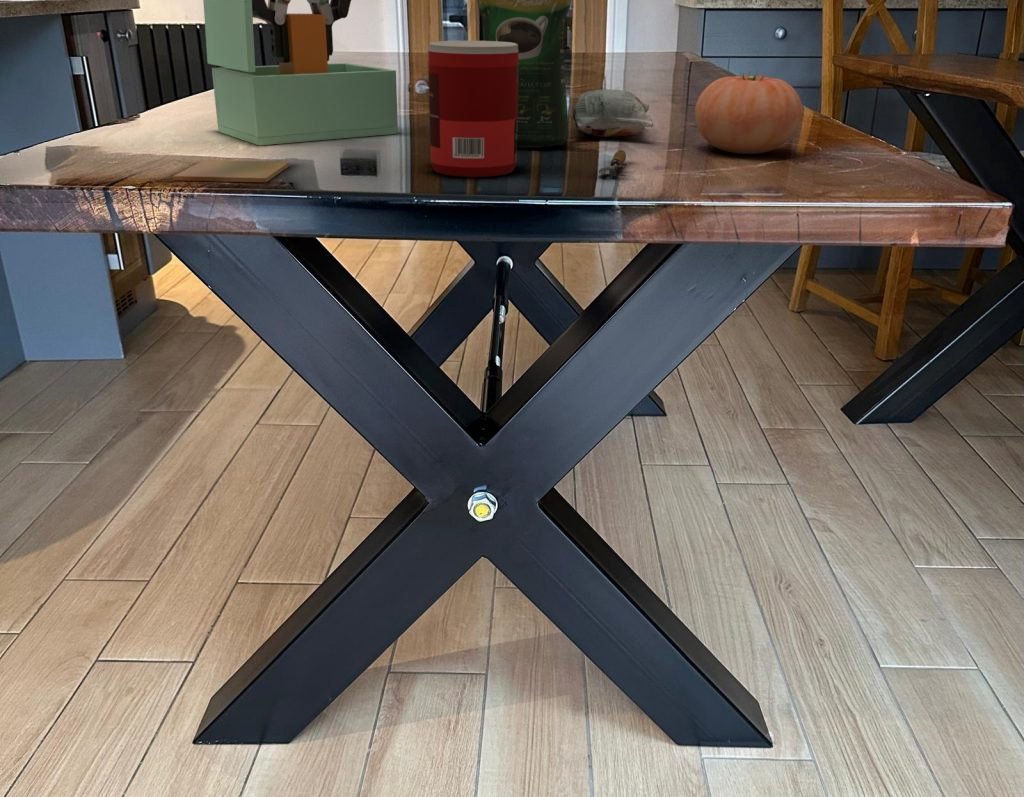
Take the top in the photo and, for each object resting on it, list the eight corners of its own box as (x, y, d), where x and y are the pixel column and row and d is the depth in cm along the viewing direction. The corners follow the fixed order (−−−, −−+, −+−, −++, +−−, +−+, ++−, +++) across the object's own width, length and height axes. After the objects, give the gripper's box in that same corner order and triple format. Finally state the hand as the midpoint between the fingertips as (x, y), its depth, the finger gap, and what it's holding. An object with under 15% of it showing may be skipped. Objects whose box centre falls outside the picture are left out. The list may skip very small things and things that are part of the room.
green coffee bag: (570, 140, 105) (577, -46, 98) (564, 151, 98) (571, -48, 91) (483, 137, 106) (483, -47, 99) (471, 148, 99) (471, -49, 92)
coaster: (173, 180, 81) (173, 175, 81) (204, 164, 89) (204, 159, 89) (266, 182, 81) (266, 177, 81) (289, 166, 89) (289, 161, 88)
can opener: (615, 160, 93) (615, 148, 92) (638, 162, 92) (639, 150, 92) (594, 177, 85) (595, 164, 84) (620, 179, 84) (620, 166, 84)
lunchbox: (350, 121, 116) (347, 62, 114) (398, 133, 108) (396, 70, 105) (218, 131, 107) (211, 67, 105) (258, 145, 99) (252, 76, 96)
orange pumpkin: (819, 156, 98) (831, 74, 95) (739, 163, 93) (748, 78, 90) (747, 141, 107) (756, 65, 103) (670, 147, 102) (676, 68, 98)
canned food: (533, 172, 87) (536, 44, 83) (461, 181, 83) (460, 46, 78) (484, 160, 93) (484, 39, 88) (414, 167, 88) (411, 41, 84)
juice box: (296, 113, 104) (290, 14, 100) (281, 109, 107) (274, 13, 103) (330, 111, 106) (325, 14, 102) (314, 107, 109) (309, 13, 105)
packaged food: (647, 128, 114) (650, 85, 112) (651, 144, 104) (654, 96, 102) (575, 127, 115) (576, 84, 113) (571, 142, 104) (572, 95, 102)
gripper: (337, -109, 104) (345, 57, 111) (210, -119, 97) (227, 61, 103) (370, -113, 99) (376, 62, 106) (238, -124, 91) (253, 66, 98)
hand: (302, 60), depth 104 cm, fingers closed on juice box, 4 cm apart
